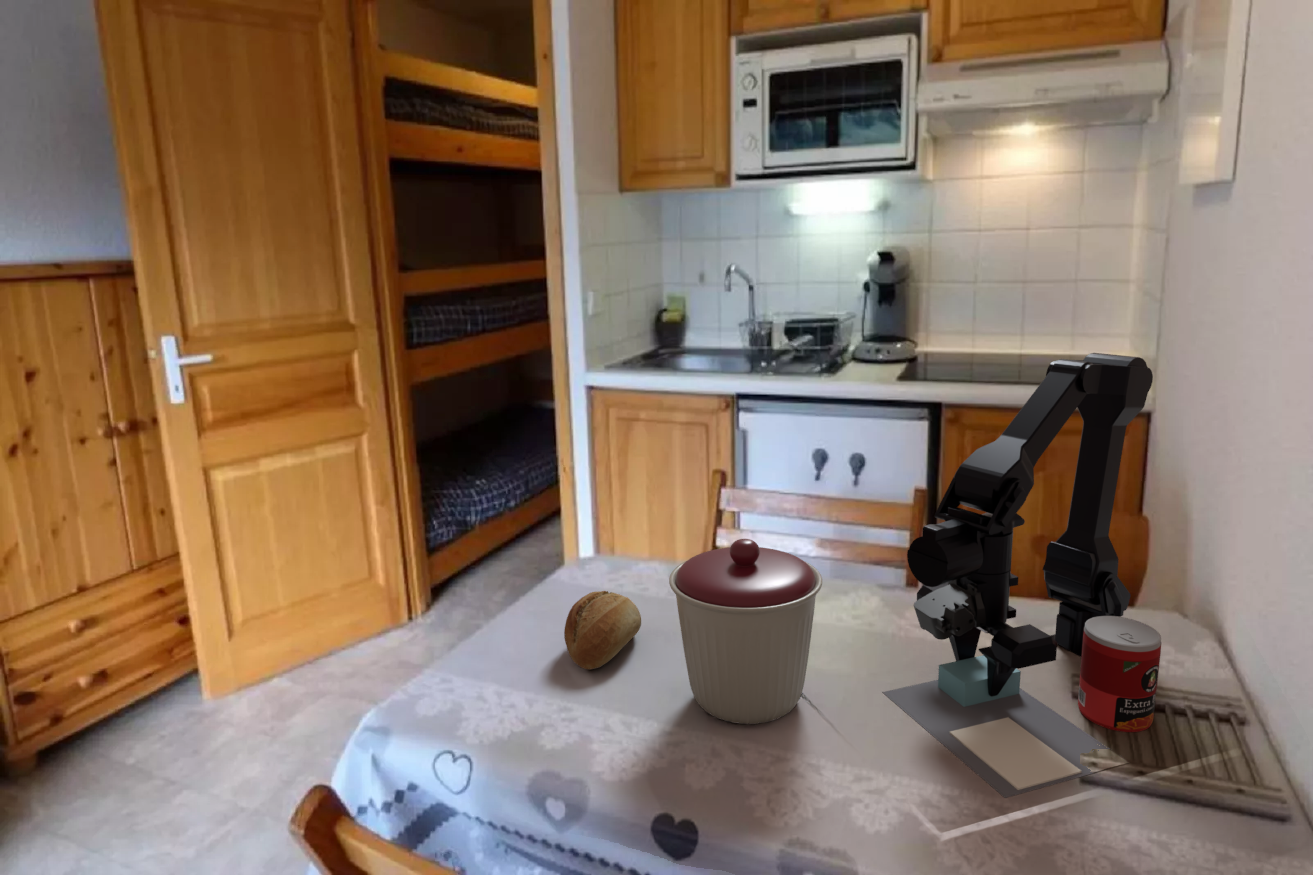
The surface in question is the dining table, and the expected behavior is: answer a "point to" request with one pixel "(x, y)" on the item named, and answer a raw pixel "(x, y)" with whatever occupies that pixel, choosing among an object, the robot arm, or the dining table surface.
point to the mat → (1001, 737)
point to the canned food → (1119, 673)
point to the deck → (973, 681)
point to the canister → (746, 629)
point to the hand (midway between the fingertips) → (978, 685)
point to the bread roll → (600, 628)
